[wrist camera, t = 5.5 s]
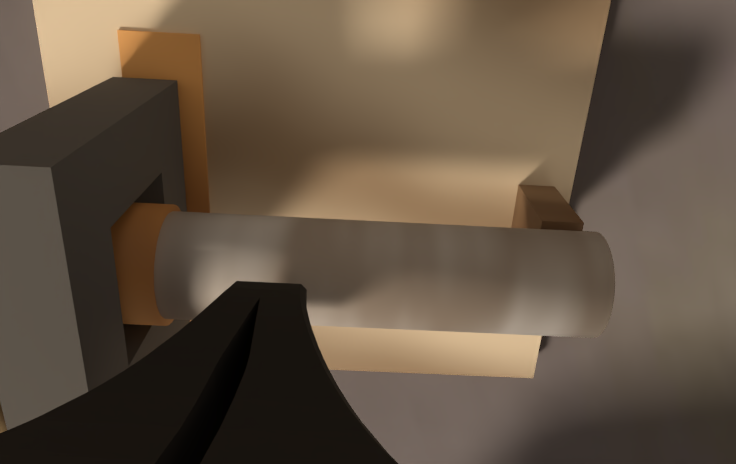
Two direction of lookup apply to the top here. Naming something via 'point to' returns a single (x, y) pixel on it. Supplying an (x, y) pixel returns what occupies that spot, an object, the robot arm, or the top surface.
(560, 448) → the top surface
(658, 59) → the top surface
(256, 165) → the pipe stand
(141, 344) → the collar
